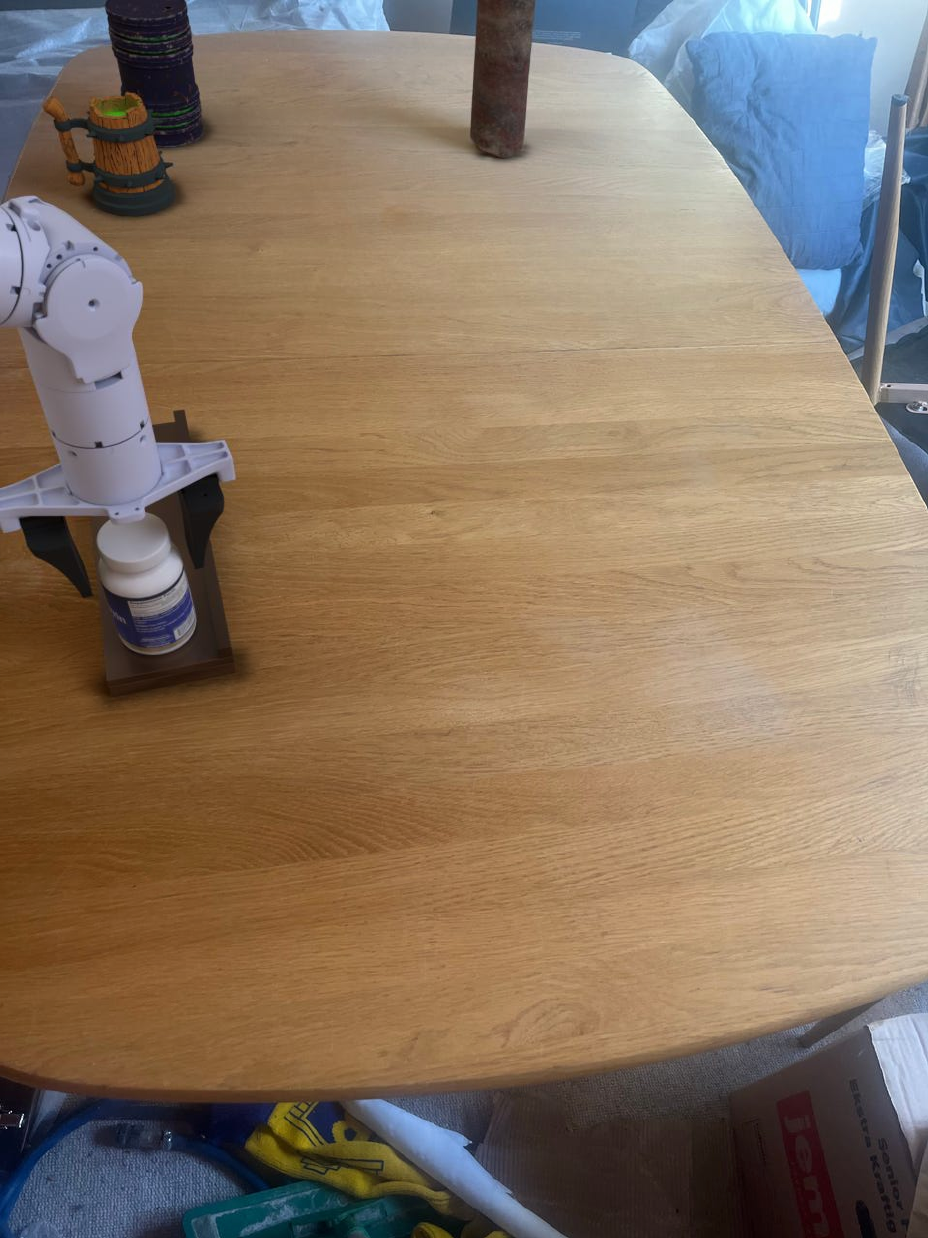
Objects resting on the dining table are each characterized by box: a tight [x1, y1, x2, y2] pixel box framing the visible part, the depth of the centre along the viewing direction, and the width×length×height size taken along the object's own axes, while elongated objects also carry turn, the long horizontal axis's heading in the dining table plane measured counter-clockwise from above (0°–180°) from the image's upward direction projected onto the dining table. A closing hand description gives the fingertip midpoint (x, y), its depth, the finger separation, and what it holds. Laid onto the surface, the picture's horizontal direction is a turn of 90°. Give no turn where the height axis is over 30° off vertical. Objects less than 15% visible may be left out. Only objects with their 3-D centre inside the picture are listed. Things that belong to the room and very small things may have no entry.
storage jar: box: [104, 0, 205, 148], centre depth 122 cm, size 10×10×15 cm
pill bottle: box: [96, 512, 196, 655], centre depth 68 cm, size 6×6×10 cm
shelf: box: [90, 409, 237, 698], centre depth 78 cm, size 9×28×3 cm, turn 17°
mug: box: [41, 92, 177, 217], centre depth 112 cm, size 13×10×12 cm
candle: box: [469, 0, 537, 159], centre depth 124 cm, size 8×7×20 cm
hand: (142, 572), depth 67 cm, fingers open, 7 cm apart
